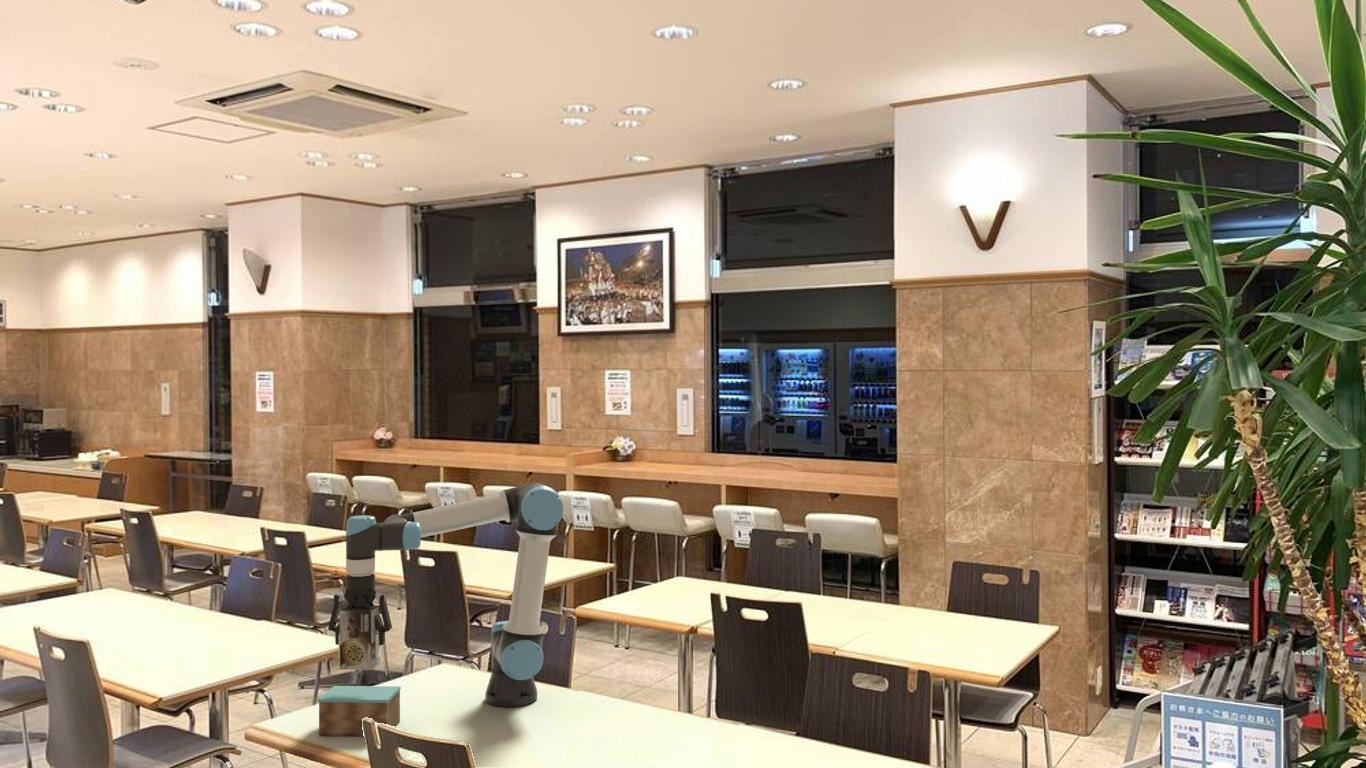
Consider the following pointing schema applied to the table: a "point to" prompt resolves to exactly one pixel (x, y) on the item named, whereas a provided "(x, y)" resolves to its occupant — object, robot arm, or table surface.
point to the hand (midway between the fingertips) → (360, 656)
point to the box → (355, 716)
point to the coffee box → (358, 638)
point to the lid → (360, 694)
